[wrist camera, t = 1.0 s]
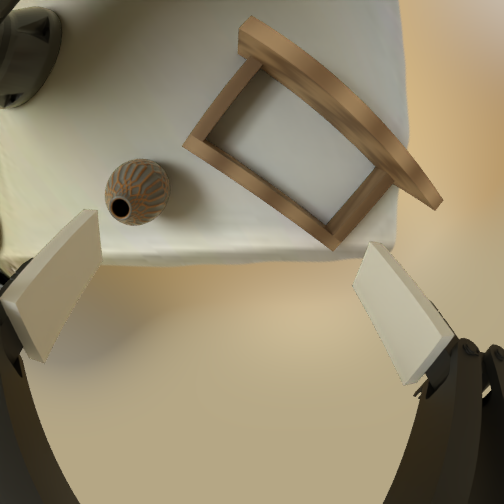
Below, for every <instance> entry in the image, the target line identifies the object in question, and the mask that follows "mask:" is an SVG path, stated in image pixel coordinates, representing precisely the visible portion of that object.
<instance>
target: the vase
mask: <svg viewBox="0 0 504 504" xmlns="http://www.w3.org/2000/svg"><path fill="white" fill-rule="evenodd" d="M169 195H170V183H169V179H168V176H167V174H166V172H165V171H164V170H163V168H162V167H161V166H160V165H158V164H157V163H155V162H153V161H151V160H148V159H134V160H130V161H128V162H126V163H124V164H122V165H121V166H119V167H118V168H117V169H116V170H115V171H114V172H113V173H112V175H111V176H110V178H109V180H108V182H107V185H106V189H105V201H106V205H107V208H108V210H109V212H110V213H111V215H112V216H113V217H114V218H115V219H116V220H118V221H119V222H121V223H123V224H126V225H133V226H135V225H142V224H145V223H148V222H150V221H152V220H153V219H155V218H156V217H157V216H158V215H159V214H160V213H161V212H162V211H163V209H164V208H165V206H166V204H167V201H168V199H169Z"/></svg>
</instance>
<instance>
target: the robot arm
mask: <svg viewBox="0 0 504 504" xmlns="http://www.w3.org/2000/svg"><path fill="white" fill-rule="evenodd" d="M19 1H20V0H0V109H6V108H12V107H17V106H20V105H22V104H23V103H25V102H27V101H28V100H29V99H30V98H31V97H33V96H34V95H35V93H36V92H37V91H38V90H39V89H40V88H41V86H42V85H43V83H44V82H45V80H46V79H47V77H48V75H49V74H50V72H51V70H52V68H53V65H54V63H55V61H56V58H57V55H58V52H59V48H60V44H61V36H62V29H61V23H60V20H59V18H58V16H57V15H56V13H54V12H53V11H51V10H49V9H46V8H43V7H28V8H23V9H17V10H13V11H11V10H12V9H13V8H14V7H15V6H16V4H17V3H18V2H19ZM102 262H103V259H102V251H101V243H100V233H99V223H98V210H88V209H84V210H83V211H81V212H80V213H79V214H78V215H77V216H76V217H75V218H74V219H73V220H71V221H70V222H69V223H68V224H67V225H66V226H65V227H64V228H63V229H62V230H61V231H60V232H59V233H58V234H57V235H56V236H55V237H54V238H53V239H52V240H51V241H50V242H49V243H48V244H47V245H46V246H45V247H44V248H43V249H42V250H41V251H40V252H39V253H38V254H37V255H36V256H35V257H34V258H31V259H30V260H28V261H27V262H25V263H23V264H22V265H21V266H20V267H19V269H18V270H17V271H16V273H14V274H13V275H12V276H11V278H10V280H8V281H7V282H6V284H5V285H4V286H3V287H2V288H1V290H0V504H80V503H79V501H78V500H77V498H76V496H75V495H74V493H73V491H72V490H71V488H70V486H69V484H68V482H67V481H66V479H65V477H64V475H63V473H62V471H61V469H60V467H59V465H58V463H57V461H56V459H55V457H54V454H53V452H52V450H51V448H50V445H49V443H48V441H47V438H46V436H45V433H44V431H43V428H42V425H41V423H40V420H39V417H38V414H37V411H36V408H35V405H34V402H33V398H32V395H31V392H30V388H29V384H28V381H27V377H26V373H25V368H24V364H23V360H22V358H21V356H20V352H21V350H22V348H24V350H25V351H26V353H27V355H28V357H29V358H31V359H33V360H36V361H39V362H42V363H45V362H46V360H47V358H48V356H49V353H50V352H51V349H52V348H53V345H54V343H55V342H56V340H57V338H58V336H59V334H60V332H61V330H62V328H63V326H64V324H65V323H66V321H67V319H68V317H69V315H70V314H71V312H72V310H73V308H74V307H75V305H76V303H77V301H78V300H79V298H80V296H81V295H82V293H83V291H84V290H85V288H86V286H87V285H88V283H89V282H90V280H91V278H92V277H93V275H94V274H95V272H96V271H97V269H98V268H99V266H100V265H101V263H102ZM352 287H353V288H354V290H355V292H356V294H357V295H358V297H359V299H360V301H361V303H362V305H363V306H364V308H365V310H366V312H367V314H368V316H369V317H370V319H371V321H372V323H373V325H374V327H375V329H376V331H377V333H378V334H379V336H380V338H381V340H382V342H383V344H384V346H385V348H386V350H387V352H388V354H389V356H390V358H391V360H392V362H393V365H394V367H395V369H396V371H397V373H398V375H399V377H400V379H401V381H402V384H403V385H408V384H413V383H417V382H418V380H419V379H420V378H421V377H422V376H423V375H424V374H426V376H427V377H428V379H427V380H426V381H425V382H424V383H423V385H422V386H421V387H420V388H419V389H418V390H417V391H416V392H415V394H414V395H413V396H415V397H416V396H417V394H418V393H420V392H422V393H421V395H420V396H419V398H418V399H420V401H419V405H418V409H417V413H416V417H415V420H414V424H413V427H412V431H411V434H410V437H409V440H408V443H407V446H406V449H405V452H404V455H403V457H402V460H401V463H400V465H399V468H398V471H397V473H396V476H395V478H394V480H393V483H392V485H391V487H390V490H389V492H388V494H387V496H386V498H385V500H384V502H383V504H504V349H503V348H501V347H500V346H498V345H491V346H490V347H489V349H488V350H487V351H486V352H485V353H483V352H480V351H479V349H478V347H477V346H476V345H475V344H474V343H473V342H472V341H470V340H469V339H465V338H461V339H458V337H457V336H456V335H455V333H454V331H453V330H452V329H451V327H450V326H449V324H448V323H447V322H446V320H445V319H444V318H443V316H442V315H441V313H440V312H438V309H437V308H436V307H435V305H434V304H433V303H432V302H431V301H430V300H429V299H428V298H427V297H426V296H425V294H424V293H423V292H422V290H421V289H420V288H419V287H418V285H417V284H416V283H415V282H414V280H413V279H412V278H411V277H410V275H409V274H408V273H407V272H406V271H405V269H404V268H403V267H402V266H401V265H400V264H399V262H398V261H397V260H396V259H395V258H394V257H393V255H392V254H391V253H390V252H389V251H388V250H387V249H386V247H385V246H384V245H383V244H382V243H377V242H369V245H368V248H367V250H366V253H365V255H364V258H363V260H362V263H361V266H360V268H359V271H358V273H357V275H356V278H355V280H354V283H353V285H352ZM489 385H490V386H491V391H490V392H489V393H488V394H487V395H486V396H485V397H484V398H482V393H483V391H484V390H485V389H486V388H487V387H488V386H489Z"/></svg>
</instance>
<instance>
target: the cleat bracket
mask: <svg viewBox="0 0 504 504" xmlns="http://www.w3.org/2000/svg"><path fill="white" fill-rule="evenodd" d="M238 54H239V55H240V56H242V57H244V58H245V59H247V61H246V62H245V63H244V64H243V65H242V66H241V68H240V69H239V70H238V71H237V72H236V74H235V75H234V76H233V77H232V78H231V80H230V81H229V82H228V83H227V85H226V86H225V87H224V88H223V90H222V91H221V92H220V94H219V95H218V96H217V97H216V99H215V100H214V101H213V103H212V104H211V105H210V107H209V108H208V109H207V111H206V112H205V114H204V115H203V116H202V118H201V119H200V121H199V122H198V123H197V125H196V126H195V128H194V129H193V130H192V132H191V133H190V135H189V136H188V138H187V139H186V141H185V142H184V144H183V145H182V147H184V148H185V149H187V150H188V151H190V152H191V153H193V154H195V155H196V156H198V157H199V158H201V159H202V160H204V161H205V162H207V163H208V164H210V165H212V166H213V167H215V168H216V169H218V170H219V171H221V172H222V173H224V174H225V175H227V176H228V177H230V178H231V179H233V180H234V181H236V182H237V183H239V184H240V185H241V186H243V187H244V188H246V189H247V190H249V191H250V192H252V193H253V194H255V195H256V196H257V197H259V198H260V199H262V200H263V201H265V202H266V203H267V204H269V205H270V206H272V207H273V208H275V209H276V210H277V211H279V212H280V213H282V214H283V215H284V216H286V217H287V218H289V219H290V220H291V221H293V222H294V223H295V224H297V225H298V226H300V227H301V228H302V229H304V230H305V231H306V232H308V233H309V234H310V235H312V236H313V237H314V238H316V239H317V240H318V241H320V242H321V243H322V244H324V245H325V246H326V247H328V248H329V249H330V250H332V251H334V250H335V249H336V248H337V247H338V246H339V244H340V243H341V242H342V241H343V240H344V239H345V238H346V237H347V236H348V235H349V233H350V232H351V231H352V230H353V229H354V228H355V227H356V226H357V224H358V223H359V222H360V221H361V220H362V219H363V218H364V217H365V215H366V214H367V213H368V212H369V211H370V210H371V208H372V207H373V206H374V205H375V204H376V203H377V201H378V200H379V199H380V198H381V197H382V196H383V194H384V193H385V192H386V191H387V190H388V188H389V187H390V186H391V185H392V184H394V185H396V186H397V187H399V188H401V189H402V190H404V191H405V192H407V193H409V194H410V195H412V196H414V197H415V198H417V199H418V200H420V201H421V202H423V203H424V204H426V205H427V206H429V207H430V208H432V209H433V210H436V209H437V208H438V206H439V205H440V204H441V203H442V201H443V199H442V197H441V196H440V195H439V193H438V192H437V190H436V188H435V187H434V186H433V184H432V183H431V181H430V180H429V178H428V177H427V176H426V174H425V173H424V172H423V170H422V169H421V168H420V166H419V165H418V164H417V162H416V161H415V160H414V159H413V157H412V156H411V155H410V154H409V152H408V151H407V150H406V149H405V147H404V146H403V145H402V144H401V143H400V141H399V140H398V139H397V138H396V137H395V136H394V134H393V133H392V132H391V131H390V130H389V129H388V128H387V126H386V125H385V124H384V123H383V122H382V121H381V120H380V119H379V118H378V117H377V116H376V115H375V114H374V113H373V111H372V110H371V109H370V108H369V107H368V106H367V105H366V104H365V103H364V102H363V101H362V100H361V99H360V98H359V97H357V96H356V95H355V94H354V93H353V92H352V91H351V90H350V89H349V88H348V87H347V86H346V85H345V84H344V83H342V82H341V81H340V80H339V79H338V78H337V77H336V76H335V75H333V74H332V73H331V72H330V71H329V70H328V69H326V68H325V67H324V66H323V65H321V64H320V63H319V62H318V61H317V60H315V59H314V58H313V57H311V56H310V55H309V54H308V53H306V52H305V51H304V50H302V49H301V48H300V47H298V46H297V45H296V44H294V43H293V42H291V41H290V40H289V39H287V38H286V37H284V36H283V35H281V34H280V33H278V32H277V31H275V30H274V29H272V28H271V27H269V26H268V25H266V24H264V23H263V22H261V21H260V20H258V19H256V18H255V17H253V16H250V17H249V18H248V19H247V20H246V21H245V22H244V24H243V25H242V26H241V27H240V28H239V36H238ZM260 69H262V70H263V71H265V72H266V73H268V74H269V75H270V76H272V77H273V78H275V79H276V80H277V81H279V82H280V83H281V84H283V85H284V86H285V87H287V88H288V89H289V90H291V91H292V92H293V93H295V94H296V95H297V96H298V97H300V98H301V99H302V100H304V101H305V102H306V103H307V104H308V105H310V106H311V107H312V108H313V109H315V110H316V111H317V112H318V113H319V114H320V115H322V116H323V117H324V118H325V119H326V120H327V121H329V122H330V123H331V124H332V125H333V126H334V127H335V128H336V129H337V130H339V131H340V132H341V133H342V134H343V135H344V136H345V137H346V138H347V139H348V140H349V141H350V142H351V143H352V144H354V145H355V146H356V147H357V148H358V149H359V150H360V151H361V152H362V153H363V154H364V155H365V156H366V157H367V158H368V159H369V160H370V161H371V162H372V163H373V165H374V166H375V169H374V170H373V171H372V172H371V173H370V175H369V176H368V177H367V178H366V179H365V181H364V182H363V183H362V184H361V185H360V186H359V188H358V189H357V190H356V191H355V192H354V194H353V195H352V196H351V197H350V198H349V199H348V201H347V202H346V203H345V204H344V205H343V206H342V207H341V209H340V210H339V211H338V212H337V213H336V214H335V216H334V217H333V218H332V219H331V220H330V221H329V222H328V223H327V225H324V224H323V223H322V222H321V221H319V220H318V219H317V218H316V217H314V216H313V215H312V214H310V213H309V212H308V211H307V210H305V209H304V208H303V207H301V206H300V205H299V204H297V203H296V202H295V201H293V200H292V199H291V198H289V197H288V196H287V195H285V194H284V193H283V192H281V191H280V190H279V189H277V188H276V187H274V186H273V185H272V184H270V183H269V182H268V181H266V180H265V179H263V178H262V177H261V176H259V175H258V174H256V173H255V172H254V171H252V170H251V169H249V168H248V167H246V166H245V165H244V164H242V163H241V162H239V161H238V160H236V159H235V158H233V157H232V156H230V155H229V154H227V153H226V152H224V151H223V150H221V149H220V148H218V147H217V146H215V145H214V144H212V143H211V142H209V141H208V140H206V137H207V136H208V135H209V133H210V132H211V131H212V129H213V128H214V126H215V125H216V124H217V122H218V121H219V120H220V118H221V117H222V116H223V114H224V113H225V112H226V110H227V109H228V108H229V106H230V105H231V104H232V103H233V101H234V100H235V99H236V97H237V96H238V95H239V94H240V92H241V91H242V90H243V89H244V88H245V86H246V85H247V84H248V83H249V81H250V80H251V79H252V78H253V77H254V75H255V74H256V73H257V72H258V71H259V70H260Z"/></svg>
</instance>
